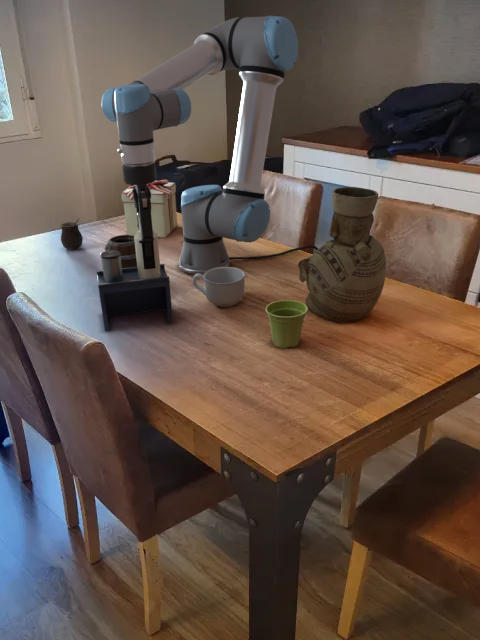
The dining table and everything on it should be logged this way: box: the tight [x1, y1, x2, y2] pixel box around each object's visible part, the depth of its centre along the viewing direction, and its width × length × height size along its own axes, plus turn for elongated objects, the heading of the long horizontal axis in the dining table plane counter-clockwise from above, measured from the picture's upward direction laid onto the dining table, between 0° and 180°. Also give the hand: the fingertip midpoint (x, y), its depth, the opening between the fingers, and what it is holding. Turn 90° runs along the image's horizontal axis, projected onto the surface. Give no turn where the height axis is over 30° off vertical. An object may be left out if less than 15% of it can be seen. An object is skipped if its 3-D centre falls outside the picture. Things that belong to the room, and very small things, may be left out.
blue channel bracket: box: [96, 263, 174, 332], centre depth 158 cm, size 17×10×12 cm, turn 101°
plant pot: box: [265, 299, 309, 349], centre depth 145 cm, size 9×9×9 cm
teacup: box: [191, 266, 246, 308], centre depth 167 cm, size 14×11×8 cm
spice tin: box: [99, 250, 123, 283], centre depth 153 cm, size 5×5×7 cm
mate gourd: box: [60, 218, 84, 251], centre depth 209 cm, size 7×8×10 cm
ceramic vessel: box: [297, 186, 387, 324], centre depth 151 cm, size 19×21×30 cm
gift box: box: [120, 179, 178, 239], centre depth 218 cm, size 17×18×17 cm
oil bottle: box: [134, 213, 161, 279], centre depth 152 cm, size 6×6×15 cm
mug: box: [104, 234, 137, 268], centre depth 175 cm, size 16×12×15 cm
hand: (148, 263), depth 154 cm, fingers closed on oil bottle, 6 cm apart
